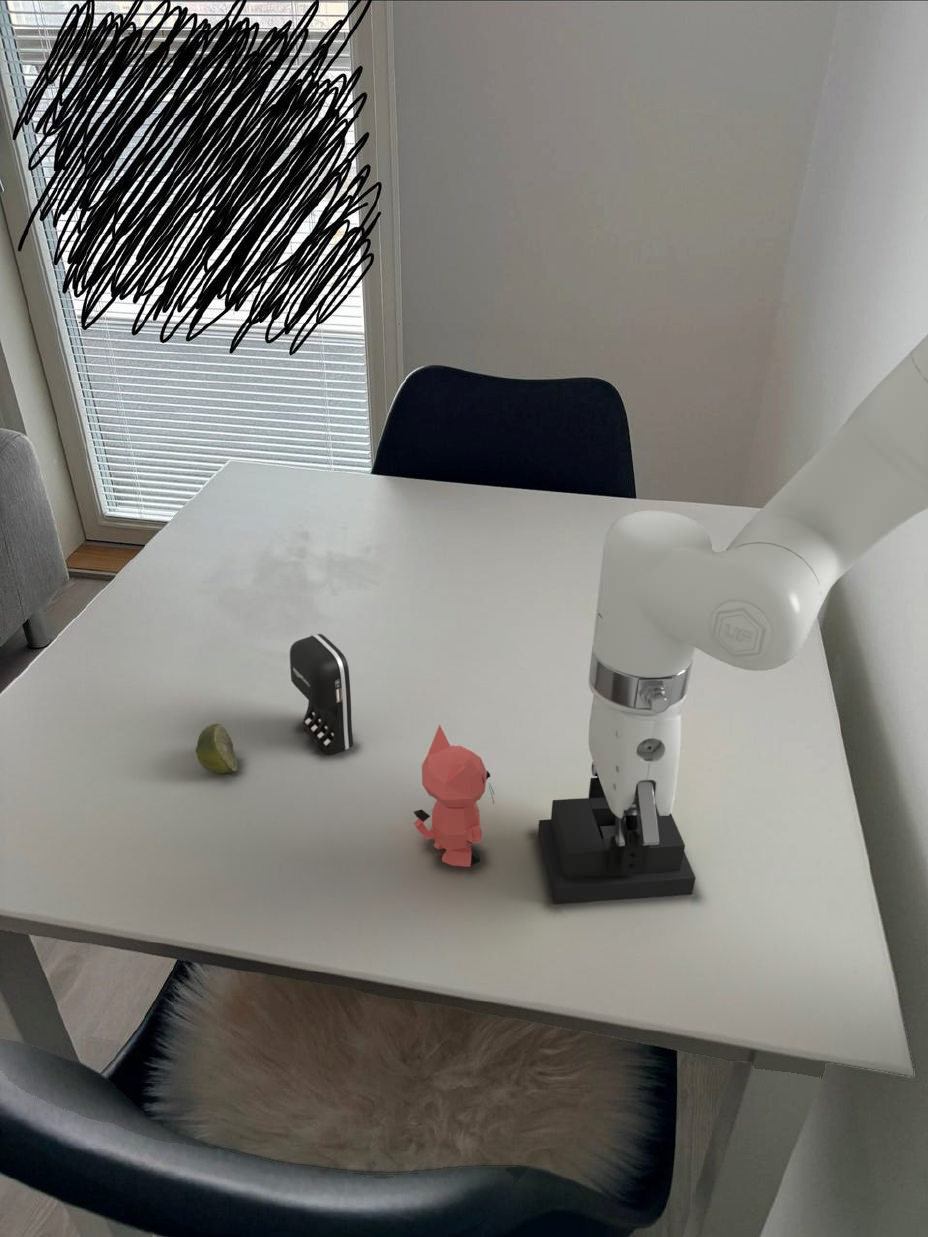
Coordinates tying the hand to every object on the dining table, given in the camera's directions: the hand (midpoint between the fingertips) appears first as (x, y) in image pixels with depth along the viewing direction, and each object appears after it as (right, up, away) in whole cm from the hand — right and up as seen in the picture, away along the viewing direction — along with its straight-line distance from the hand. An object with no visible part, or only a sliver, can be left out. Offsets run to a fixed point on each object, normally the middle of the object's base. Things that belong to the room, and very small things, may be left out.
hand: (614, 840), depth 76 cm
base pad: (0, -2, +1) cm, 3 cm away
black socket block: (0, -1, 0) cm, 1 cm away
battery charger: (-28, +7, +16) cm, 33 cm away
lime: (-37, +4, +12) cm, 39 cm away
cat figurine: (-14, -2, +3) cm, 15 cm away
